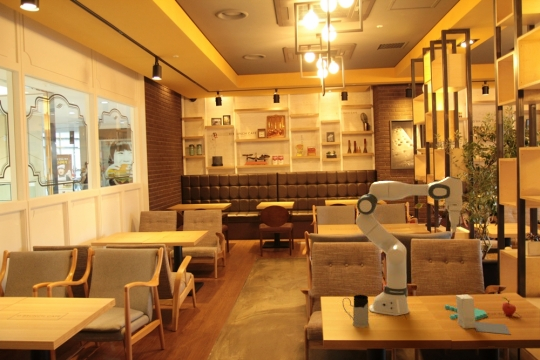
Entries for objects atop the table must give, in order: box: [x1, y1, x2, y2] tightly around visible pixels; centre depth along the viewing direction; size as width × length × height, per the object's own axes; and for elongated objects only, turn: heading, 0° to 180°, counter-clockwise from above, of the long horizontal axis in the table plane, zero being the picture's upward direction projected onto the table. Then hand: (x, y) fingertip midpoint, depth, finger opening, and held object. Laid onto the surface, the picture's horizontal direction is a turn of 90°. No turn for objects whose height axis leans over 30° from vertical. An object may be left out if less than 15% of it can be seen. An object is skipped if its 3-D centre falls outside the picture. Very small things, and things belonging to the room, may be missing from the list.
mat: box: [474, 321, 512, 336], centre depth 244 cm, size 16×14×1 cm
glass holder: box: [342, 294, 370, 328], centre depth 252 cm, size 9×14×15 cm, turn 70°
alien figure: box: [444, 304, 488, 322], centre depth 266 cm, size 20×2×20 cm
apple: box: [501, 297, 517, 317], centre depth 263 cm, size 8×7×10 cm
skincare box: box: [455, 294, 476, 329], centre depth 247 cm, size 8×7×16 cm
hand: (453, 230), depth 262 cm, fingers open, 8 cm apart
